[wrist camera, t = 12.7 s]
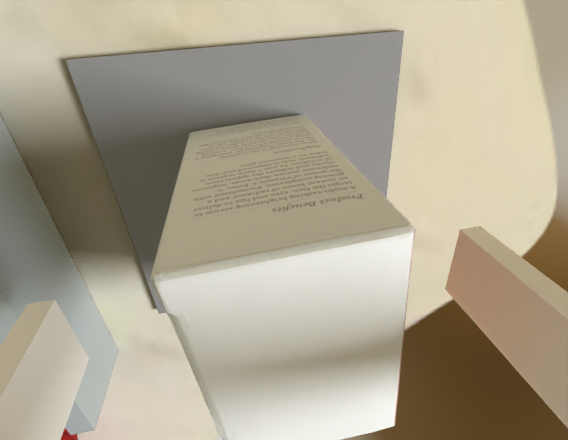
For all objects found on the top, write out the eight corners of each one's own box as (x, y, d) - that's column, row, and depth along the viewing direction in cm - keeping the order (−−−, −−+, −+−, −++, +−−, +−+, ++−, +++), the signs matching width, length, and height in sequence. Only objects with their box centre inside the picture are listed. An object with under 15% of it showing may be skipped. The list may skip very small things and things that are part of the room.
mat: (159, 308, 21) (158, 313, 20) (69, 58, 13) (65, 60, 13) (375, 271, 22) (378, 275, 22) (399, 30, 15) (403, 30, 15)
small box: (316, 246, 20) (398, 431, 11) (222, 265, 19) (228, 475, 10) (306, 109, 16) (427, 226, 7) (186, 128, 15) (143, 282, 6)
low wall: (99, 354, 22) (70, 434, 17) (-111, -27, 11) (-306, -56, 7) (118, 350, 22) (94, 430, 18) (-71, -29, 11) (-240, -59, 7)
